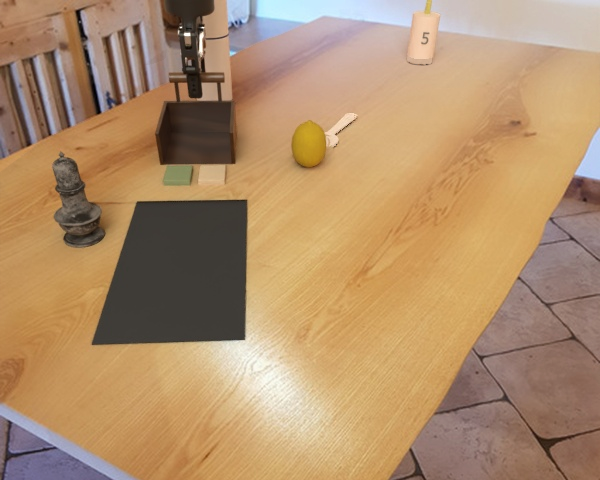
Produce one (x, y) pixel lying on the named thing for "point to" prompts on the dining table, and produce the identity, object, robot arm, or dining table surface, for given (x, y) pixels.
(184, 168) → the block
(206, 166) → the block
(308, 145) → the lemon
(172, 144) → the basket
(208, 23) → the cylindrical container
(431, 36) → the candle
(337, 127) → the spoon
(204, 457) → the dining table surface
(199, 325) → the mat
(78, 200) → the salt shaker
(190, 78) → the robot arm
